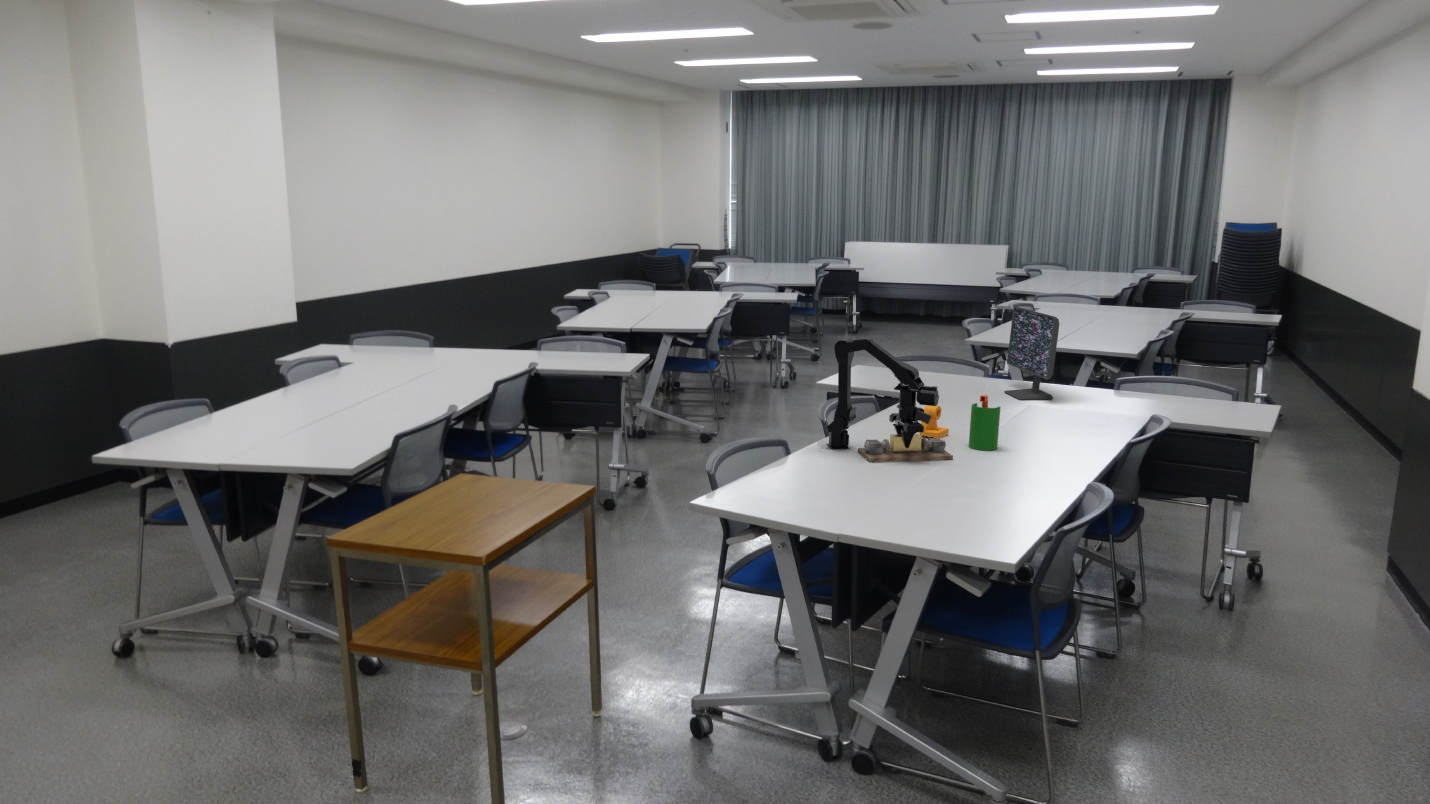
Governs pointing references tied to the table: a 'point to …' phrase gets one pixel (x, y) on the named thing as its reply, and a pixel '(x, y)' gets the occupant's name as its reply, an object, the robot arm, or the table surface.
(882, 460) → the shaft mount
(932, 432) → the bracket
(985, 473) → the table surface
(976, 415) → the green tall cylinder
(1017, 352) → the computer monitor
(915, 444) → the block
